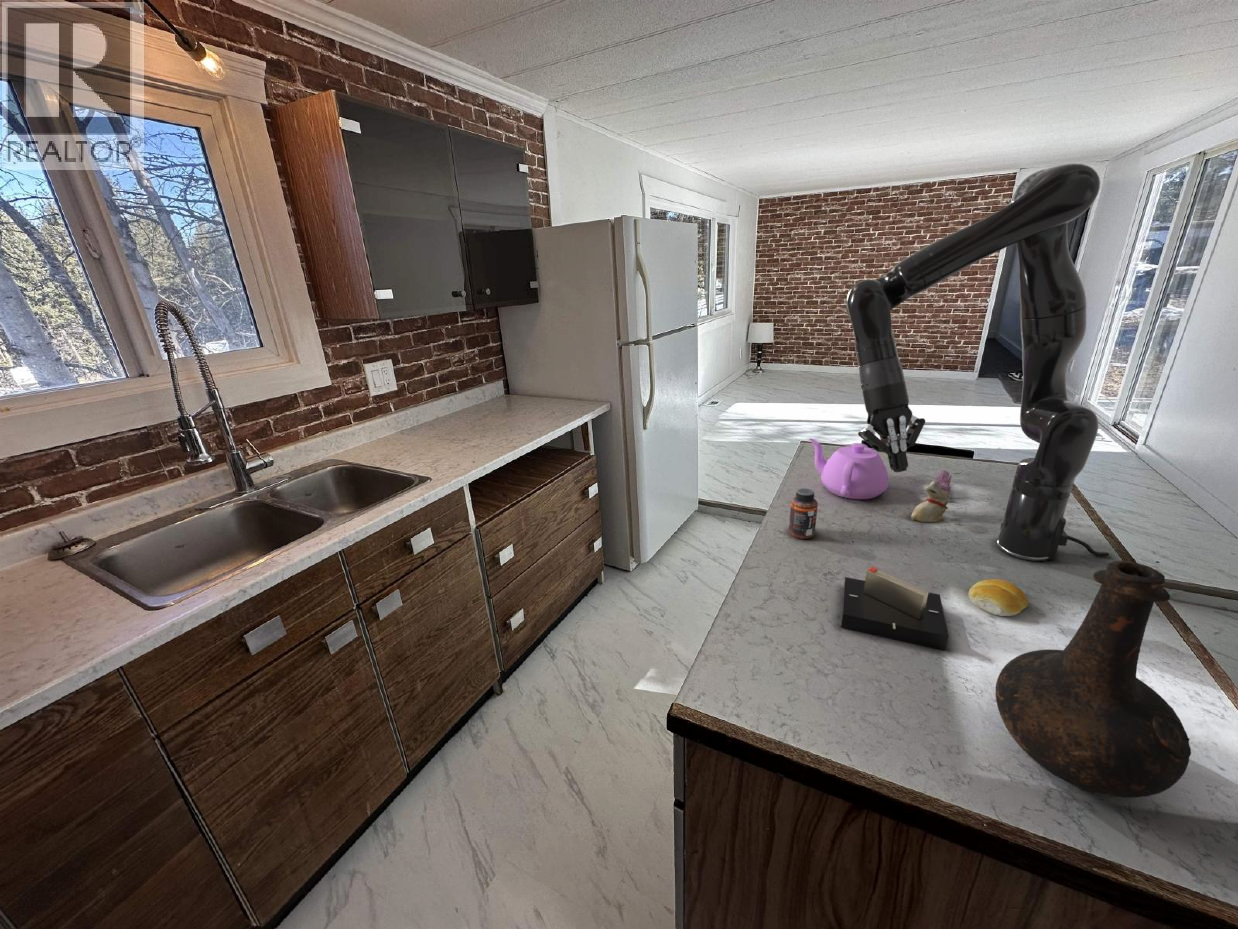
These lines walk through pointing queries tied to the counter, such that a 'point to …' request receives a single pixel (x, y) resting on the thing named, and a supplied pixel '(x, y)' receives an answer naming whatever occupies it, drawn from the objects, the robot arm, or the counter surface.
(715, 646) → the counter surface
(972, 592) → the bread roll
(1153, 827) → the counter surface
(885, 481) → the teapot
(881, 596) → the red-tipped beige bar
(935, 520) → the chocolate bunny
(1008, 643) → the counter surface
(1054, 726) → the brown mottled bulbous container
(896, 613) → the black square dial panel
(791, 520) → the supplement bottle
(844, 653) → the counter surface
